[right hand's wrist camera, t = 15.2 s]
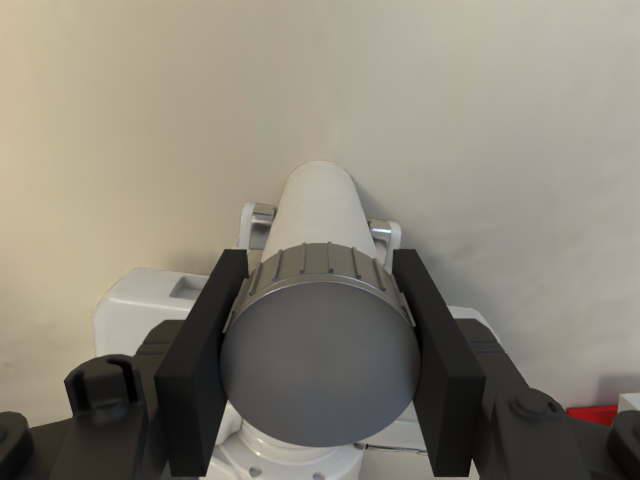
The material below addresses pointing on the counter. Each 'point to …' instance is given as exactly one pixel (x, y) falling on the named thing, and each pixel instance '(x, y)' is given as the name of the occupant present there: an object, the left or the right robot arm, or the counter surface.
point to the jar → (319, 211)
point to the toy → (607, 410)
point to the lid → (320, 347)
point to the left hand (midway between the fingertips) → (321, 214)
